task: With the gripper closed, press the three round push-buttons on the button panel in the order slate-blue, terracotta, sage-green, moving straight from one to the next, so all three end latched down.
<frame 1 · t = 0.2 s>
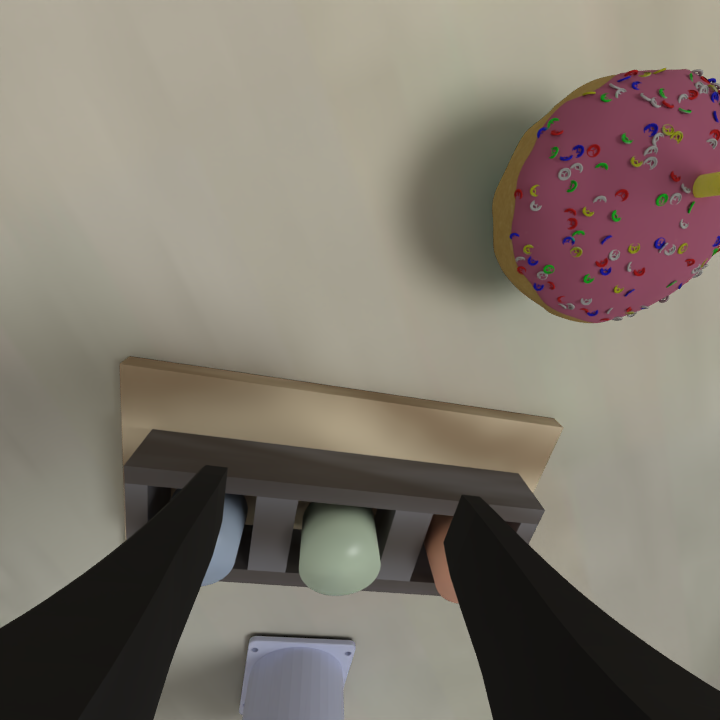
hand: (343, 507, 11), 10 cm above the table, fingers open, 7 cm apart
button panel: (337, 489, 23), on the table
slate button: (200, 530, 19), point 4 cm above the table, slide at 0.0 cm
terracotta button: (463, 552, 21), point 4 cm above the table, slide at 0.0 cm
sage button: (339, 542, 20), point 4 cm above the table, slide at 0.0 cm
cupcake: (545, 208, 18), on the table
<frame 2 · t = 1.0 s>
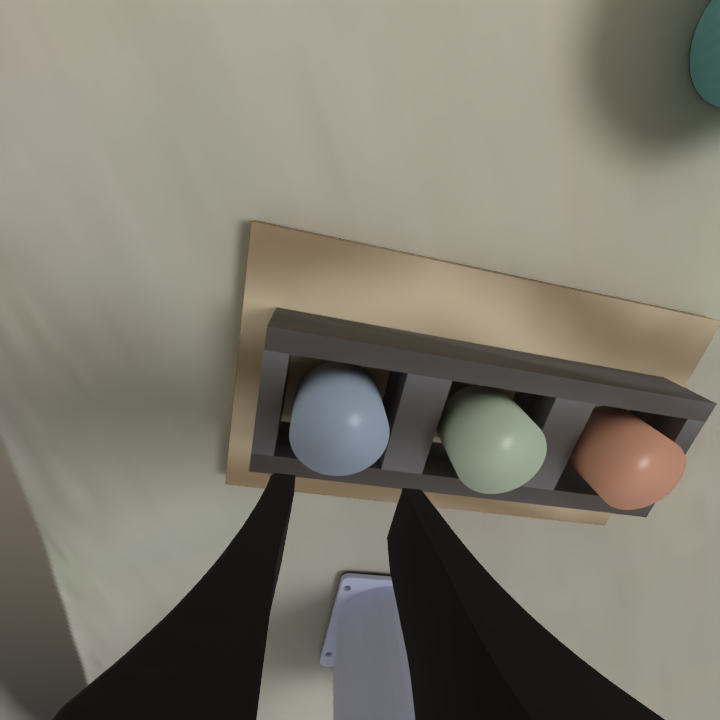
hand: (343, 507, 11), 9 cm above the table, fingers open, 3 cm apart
button panel: (459, 396, 21), on the table
slate button: (338, 416, 16), point 4 cm above the table, slide at 0.0 cm
terracotta button: (618, 455, 19), point 4 cm above the table, slide at 0.0 cm
sage button: (487, 437, 17), point 4 cm above the table, slide at 0.0 cm
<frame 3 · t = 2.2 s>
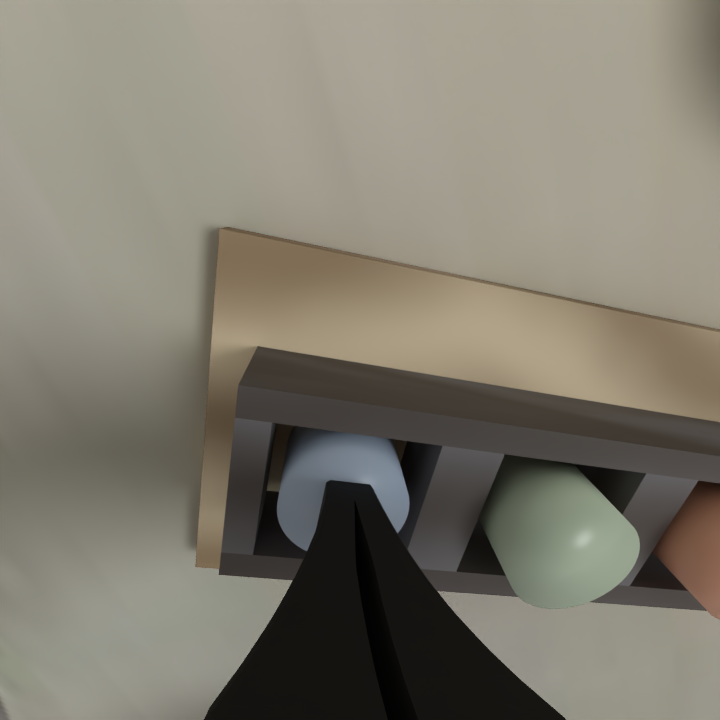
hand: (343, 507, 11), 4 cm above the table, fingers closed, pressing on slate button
button panel: (497, 453, 16), on the table
slate button: (342, 476, 13), point 3 cm above the table, slide at 1.2 cm, touching gripper
sage button: (547, 524, 13), point 4 cm above the table, slide at 0.0 cm
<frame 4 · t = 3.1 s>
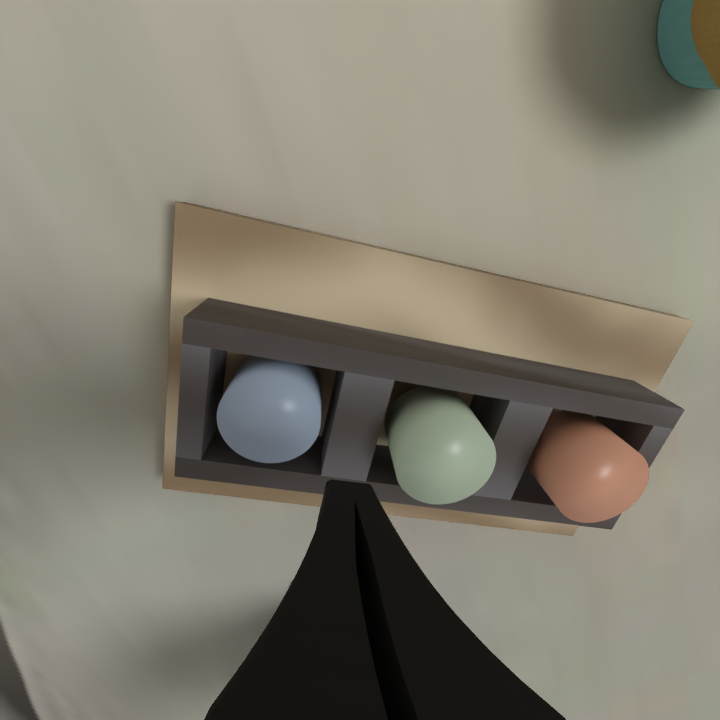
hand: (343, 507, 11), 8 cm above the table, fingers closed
button panel: (415, 398, 20), on the table
slate button: (274, 402, 16), point 3 cm above the table, slide at 1.2 cm
terracotta button: (580, 463, 17), point 4 cm above the table, slide at 0.0 cm
sage button: (435, 442, 16), point 4 cm above the table, slide at 0.0 cm
cupcake: (710, 21, 15), on the table
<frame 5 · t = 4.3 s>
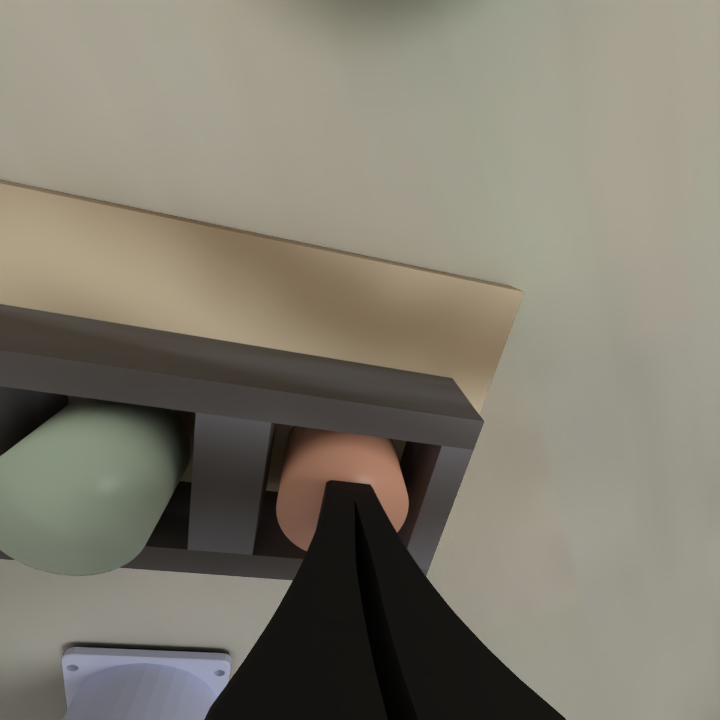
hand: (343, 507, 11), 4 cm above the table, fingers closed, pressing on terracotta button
button panel: (157, 407, 14), on the table
terracotta button: (341, 476, 13), point 3 cm above the table, slide at 1.2 cm, touching gripper
sage button: (98, 476, 11), point 4 cm above the table, slide at 0.0 cm
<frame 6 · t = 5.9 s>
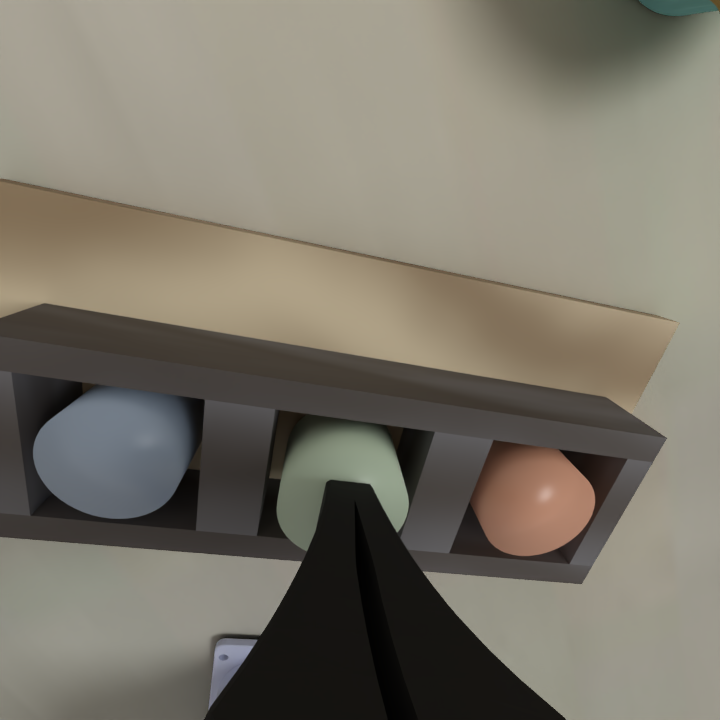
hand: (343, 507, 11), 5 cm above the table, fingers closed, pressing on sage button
button panel: (338, 422, 16), on the table
slate button: (132, 437, 12), point 3 cm above the table, slide at 1.2 cm
terracotta button: (519, 484, 15), point 3 cm above the table, slide at 1.2 cm
sage button: (341, 476, 13), point 4 cm above the table, slide at 0.5 cm, touching gripper
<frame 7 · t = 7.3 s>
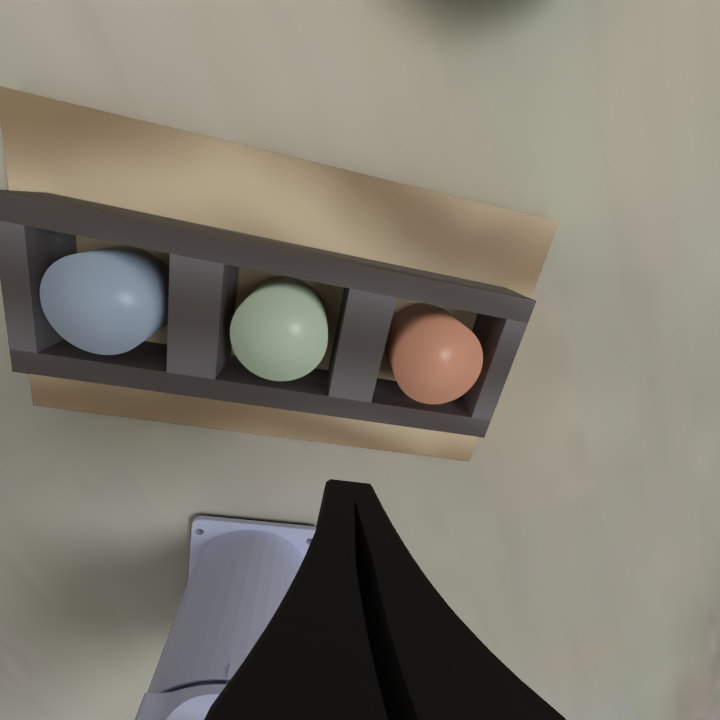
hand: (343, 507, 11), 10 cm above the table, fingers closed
button panel: (289, 311, 20), on the table
slate button: (116, 298, 16), point 3 cm above the table, slide at 1.2 cm
terracotta button: (430, 352, 18), point 3 cm above the table, slide at 1.2 cm
sage button: (283, 327, 17), point 3 cm above the table, slide at 1.2 cm
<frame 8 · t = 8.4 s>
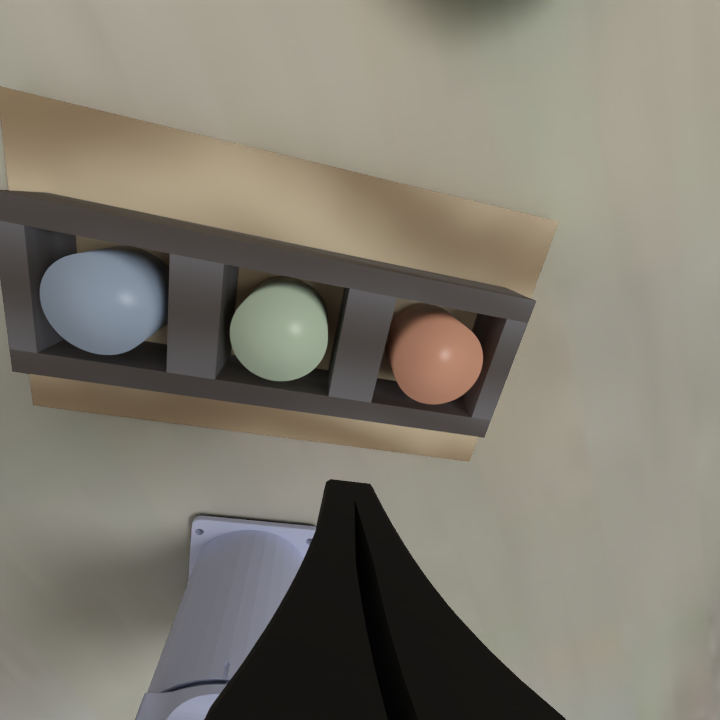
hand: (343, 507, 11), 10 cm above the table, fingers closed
button panel: (289, 311, 20), on the table
slate button: (116, 298, 16), point 3 cm above the table, slide at 1.2 cm
terracotta button: (430, 352, 18), point 3 cm above the table, slide at 1.2 cm
sage button: (283, 327, 17), point 3 cm above the table, slide at 1.2 cm
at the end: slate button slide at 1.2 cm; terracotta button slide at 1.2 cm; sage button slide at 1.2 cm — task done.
